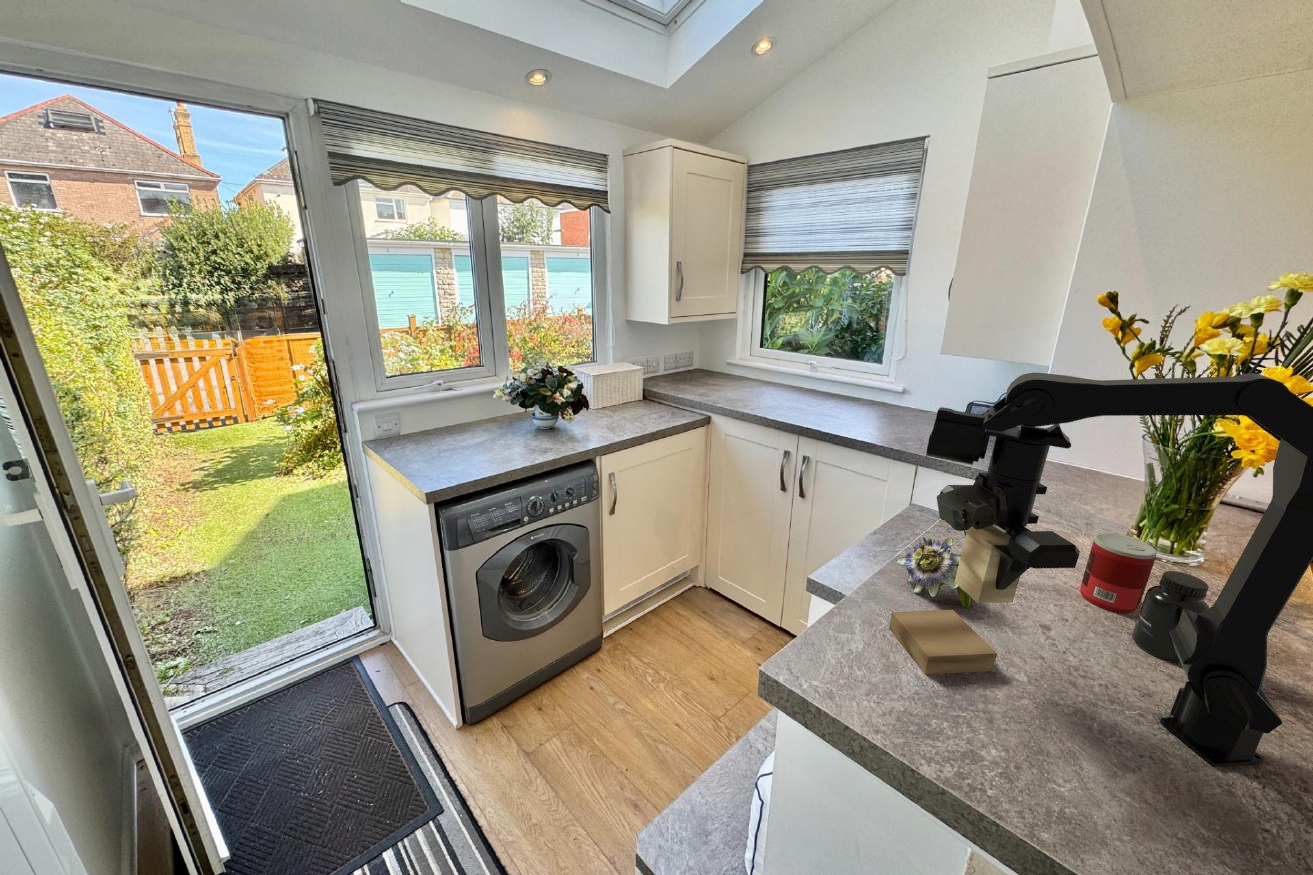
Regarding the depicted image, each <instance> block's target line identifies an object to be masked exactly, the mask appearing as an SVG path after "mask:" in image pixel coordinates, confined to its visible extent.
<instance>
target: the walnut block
mask: <svg viewBox="0 0 1313 875" xmlns="http://www.w3.org/2000/svg"><path fill="white" fill-rule="evenodd" d="M888 629H889V630H890V631H891V633H892V634H893V635H894V636H896V637H895V638H896V640H897V641H898V642H899V643H900V644H901V646H902V647H903V648H904V650H905V651H906V652H907V653H908V655H909V656H910V657H911V659H912V660H913V662H915V664H917V666H918V667H919V669H920V670H921V671H922V673H923V674H924V675H938V674H939V675H940V674H942V675H945V674H959V673H961V674H962V673H982V672H984V673H985V672H993V671H994V667H995V663H996V659H997V656H998V655H997V654H998V652H996V651H995V650H994V649H993V648H992V647H991V646H990V645H989V644H988V643H987V642H986V641H985V640H984V639H983V638H982V637H981V636H980V635H979V634H978V633H977V632H976V631H975V630H974V629H973V628H972V627H971V626H970V625H969V624H968V623H967V622H966V621H965V620H964V619H963V618H962V617H961V616H960V615H959V614H958V613H957V612H956V611H955V610H953V609H944V610H943V609H940V610H939V609H937V610H935V609H934V610H918V611H917V610H916V611H915V610H914V611H910V610H909V611H891V616H890V623H889V627H888Z"/></svg>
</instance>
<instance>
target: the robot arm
mask: <svg viewBox="0 0 1313 875" xmlns="http://www.w3.org/2000/svg"><path fill="white" fill-rule="evenodd" d="M935 416H936V417H935V420H934V424H933V428H932V430H931V432H930V434H929V437H928V442H927V446H926V447H927V449H926V454H925V455H926V457H930V458H934V459H935V458H936V459H940V460H945V461H952V462H957V463H962V464H966V465H972V466H973V465H974V463H975V462H977V463H979V460H980V459H981V460H985V457H986V453H987V450H988V445H989V441H990V437H995V439H994V442H993V448H992V451H991V454H990V455H991V456H990V458H989V459H990V460H989V464H988V469H987V470H986V471H987V472H978V475H976V476H975V479H974V482H973V484H947V485H945V487H943V488H942V489H941V490H940V491H939V494H937V496H936V502H937V508H938V509H937V510H938V514H939V519H940V520H942V521H944V522H945V523H947V524H948V525H950V527H951V528H952V529H954V530H955V531H958V532H963V533H964V538H965V537H966V532H965V530H968V529H970V527H973V528H974V529H976V530H979V529H982V528H985V527H988V526H995V527H996V528H998V529H999V530H1001V531H1002V532H1004V533H1006V534H1008V535H1009V536H1011V538H1010V540H1009V543H1008V545H994V547H995V549H996V550H997V551H998V552H999V554H1000V556H1001V557H1000V562H999V567H998V572H997V577H996V589H997V590H1005V589H1006V588H1007V587H1008V586H1009V585H1011V584H1012V583H1013V582H1014V581H1015V580H1016V579H1017V578H1018V577H1020V578H1021V576H1022V575H1023V574H1024V573H1025V572H1027V571H1028V570H1030V569H1074V568H1076V566H1077V563H1078V560H1079V557H1080V550H1079V549H1078V547H1077V546H1076V544H1075V543H1073V542H1071V541H1069V540H1068V539H1066V538H1064V537H1063V536H1061V535H1059V534H1057V533H1056V532H1055V531H1052V530H1038V531H1037V530H1036V531H1033V530H1031V529H1029V528H1027V526H1028V524H1029V525H1030V524H1035V525H1037V524H1038V521H1039V517H1040V516H1039V515H1037V514H1036V513H1033V512H1032V511H1033V507H1034V504H1035V501H1036V499H1037V498H1036V497H1037V495H1046V494H1047V490H1048V486H1047V485H1045V484H1042V483H1041V480H1042V475H1043V472H1044V469H1045V465H1046V462H1047V461H1046V460H1047V458H1048V456H1049V452H1050V449H1051V447H1056V448H1061V449H1067V450H1068V449H1070V448H1071V447H1072V442H1071V440H1070V437H1069V436H1067V435H1066V433H1065V432H1064V431H1063V430H1062V428H1061V425H1060V424H1068V423H1073V422H1077V421H1081V420H1085V419H1089V418H1090V419H1091V418H1096V417H1098V418H1099V417H1107V416H1108V417H1114V416H1115V417H1117V416H1119V417H1120V416H1121V417H1122V416H1125V417H1127V416H1129V417H1132V416H1133V417H1134V416H1143V417H1144V416H1145V417H1146V416H1150V417H1151V416H1153V417H1154V416H1158V417H1160V416H1163V417H1164V416H1170V417H1171V416H1242V417H1243V416H1244V417H1247V418H1248V419H1249V420H1250V421H1251V422H1253V423H1254V424H1255V425H1257V426H1258V427H1260V429H1262V430H1263V431H1265V432H1266V433H1268V434H1269V435H1271V437H1273V438H1274V439H1275V440H1277V441H1278V442H1279V443H1278V447H1277V449H1276V450H1277V451H1276V455H1275V459H1274V461H1273V466H1272V496H1271V499H1270V502H1269V504H1268V506H1267V507H1266V510H1265V511H1264V513H1263V515H1262V516H1261V518H1260V521H1259V522H1258V524H1257V525H1256V527H1255V529H1254V532H1253V533H1252V534H1251V537H1250V539H1249V540H1248V542H1247V544H1246V546H1245V548H1244V550H1243V551H1242V553H1241V555H1240V556H1239V559H1238V560H1237V562H1236V563H1235V566H1234V567H1233V569H1232V571H1231V573H1230V574H1229V577H1228V578H1227V580H1226V582H1225V584H1224V585H1223V588H1222V589H1221V591H1220V593H1219V594H1218V596H1217V599H1216V600H1215V602H1214V603H1213V604H1212V606H1210V607H1209V609H1207V610H1205V611H1203V612H1201V613H1199V614H1197V613H1195V612H1192V611H1190V610H1188V609H1183V611H1182V613H1181V618H1180V621H1179V624H1178V625H1177V626H1176V627H1175V628H1174V629H1173V630H1171V631H1170V632H1169V633H1170V635H1171V638H1172V640H1173V642H1174V643H1173V644H1174V648H1175V651H1176V653H1177V655H1178V658H1179V660H1180V662H1179V663H1180V664H1181V667H1182V668H1183V671H1184V673H1185V675H1186V677H1187V681H1186V682H1185V684H1184V687H1180V688H1178V692H1177V693H1176V696H1175V699H1174V702H1173V704H1172V706H1171V709H1170V711H1169V712H1170V713H1169V714H1170V716H1169V717H1168V716H1166V717H1160V719H1159V723H1160V724H1161V725H1162V726H1164V727H1165V728H1166V729H1167V730H1168V731H1170V732H1171V733H1172V734H1173V735H1175V736H1176V737H1177V738H1179V740H1181V741H1182V742H1183V743H1184V744H1185V745H1187V746H1188V747H1189V748H1190V749H1192V750H1193V751H1194V752H1195V753H1197V754H1198V755H1199V756H1200V757H1202V758H1203V759H1204V760H1205V761H1206V762H1207V763H1209V764H1211V765H1212V766H1214V767H1226V766H1245V765H1256V764H1257V765H1258V764H1263V763H1264V760H1265V758H1264V757H1263V756H1261V754H1260V755H1259V753H1257V748H1258V746H1259V744H1260V743H1261V740H1262V738H1263V736H1264V734H1270V733H1272V732H1273V731H1275V730H1276V729H1277V728H1279V727H1280V726H1281V725H1283V720H1282V719H1281V717H1280V716H1279V714H1278V712H1277V710H1276V709H1275V707H1274V706H1273V705H1272V703H1271V701H1270V699H1269V698H1268V696H1267V694H1266V693H1265V691H1264V689H1263V688H1262V686H1263V683H1264V682H1263V681H1264V678H1265V674H1266V672H1267V671H1266V670H1267V667H1268V636H1269V633H1270V631H1271V629H1272V628H1273V626H1274V625H1275V623H1276V621H1277V619H1278V618H1279V617H1280V615H1281V613H1282V612H1283V610H1284V608H1285V606H1286V605H1287V603H1288V602H1289V600H1290V599H1291V596H1292V595H1293V593H1294V592H1295V590H1296V589H1297V587H1298V585H1299V583H1300V582H1301V580H1302V579H1303V577H1304V575H1305V573H1307V570H1308V568H1309V567H1310V565H1311V563H1312V562H1313V405H1311V403H1308V402H1307V401H1305V400H1304V399H1302V398H1301V397H1299V396H1298V395H1296V394H1295V393H1293V392H1292V391H1291V390H1290V389H1289V387H1288V386H1287V385H1285V383H1283V382H1282V381H1279V380H1277V379H1274V378H1271V377H1268V376H1265V375H1262V374H1260V373H1252V372H1251V373H1242V374H1240V375H1239V374H1238V375H1233V376H1227V375H1226V376H1200V377H1198V376H1197V377H1196V376H1195V377H1173V378H1171V377H1169V378H1139V379H1136V378H1135V379H1133V378H1131V379H1110V380H1109V379H1107V380H1106V379H1104V380H1103V379H1101V380H1100V379H1099V380H1098V379H1090V378H1084V377H1078V376H1077V377H1076V376H1072V375H1071V376H1070V375H1066V374H1065V375H1064V374H1054V373H1046V372H1045V373H1043V372H1028V373H1024V374H1021V375H1018V377H1016V378H1015V379H1014V380H1013V381H1011V382H1010V384H1009V386H1008V387H1007V389H1006V393H1005V396H1004V397H1002V398H1001V399H1000V400H998V401H997V402H996V403H995V404H993V405H992V406H989V408H987V409H986V410H985V411H984V414H979V413H978V414H977V413H974V412H972V413H971V412H967V411H966V412H964V411H960V410H959V411H958V410H955V409H952V408H950V407H949V408H948V407H942V406H941V407H939V408H937V413H936V415H935ZM1046 426H1049V427H1046ZM1017 427H1018V429H1015V428H1017ZM1044 427H1045V428H1044Z"/></svg>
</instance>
